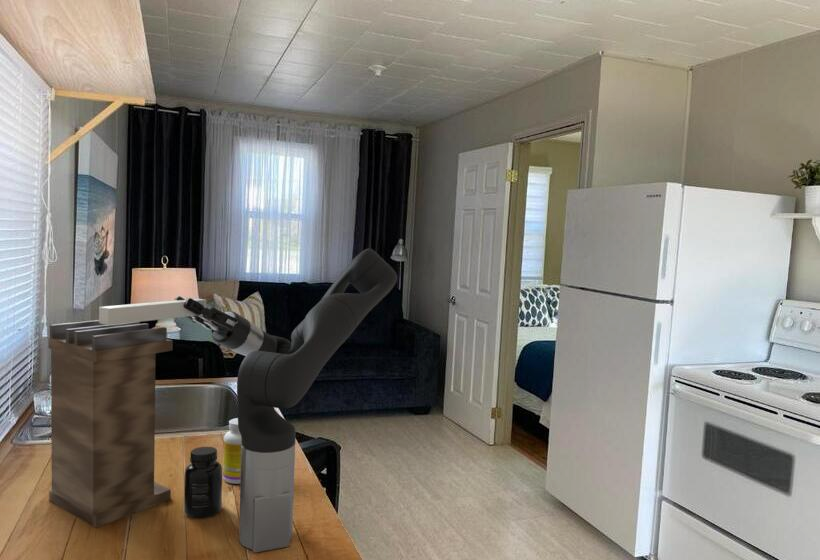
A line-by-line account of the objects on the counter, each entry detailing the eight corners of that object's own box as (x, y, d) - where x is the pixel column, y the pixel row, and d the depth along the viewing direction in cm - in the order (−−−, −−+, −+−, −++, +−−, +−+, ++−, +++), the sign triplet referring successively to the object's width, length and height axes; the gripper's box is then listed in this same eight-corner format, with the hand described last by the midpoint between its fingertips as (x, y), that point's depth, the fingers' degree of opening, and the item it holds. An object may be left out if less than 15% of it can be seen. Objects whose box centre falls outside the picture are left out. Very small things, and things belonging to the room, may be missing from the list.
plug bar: (196, 312, 129) (196, 298, 129) (206, 314, 128) (206, 299, 127) (99, 323, 112) (99, 306, 112) (108, 325, 110) (108, 308, 110)
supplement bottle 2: (245, 486, 129) (247, 427, 128) (217, 482, 130) (218, 423, 129) (259, 474, 135) (261, 418, 134) (232, 470, 137) (233, 414, 136)
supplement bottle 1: (229, 508, 119) (230, 448, 118) (204, 523, 113) (205, 460, 112) (201, 500, 122) (202, 441, 121) (175, 514, 116) (176, 452, 114)
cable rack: (124, 475, 131) (125, 316, 128) (172, 498, 122) (174, 327, 119) (49, 500, 119) (48, 324, 116) (96, 527, 109) (96, 337, 106)
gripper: (224, 315, 142) (168, 281, 129) (266, 323, 135) (210, 287, 122) (211, 345, 140) (151, 313, 127) (252, 354, 132) (194, 322, 119)
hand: (181, 301), depth 124 cm, fingers closed on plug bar, 3 cm apart
